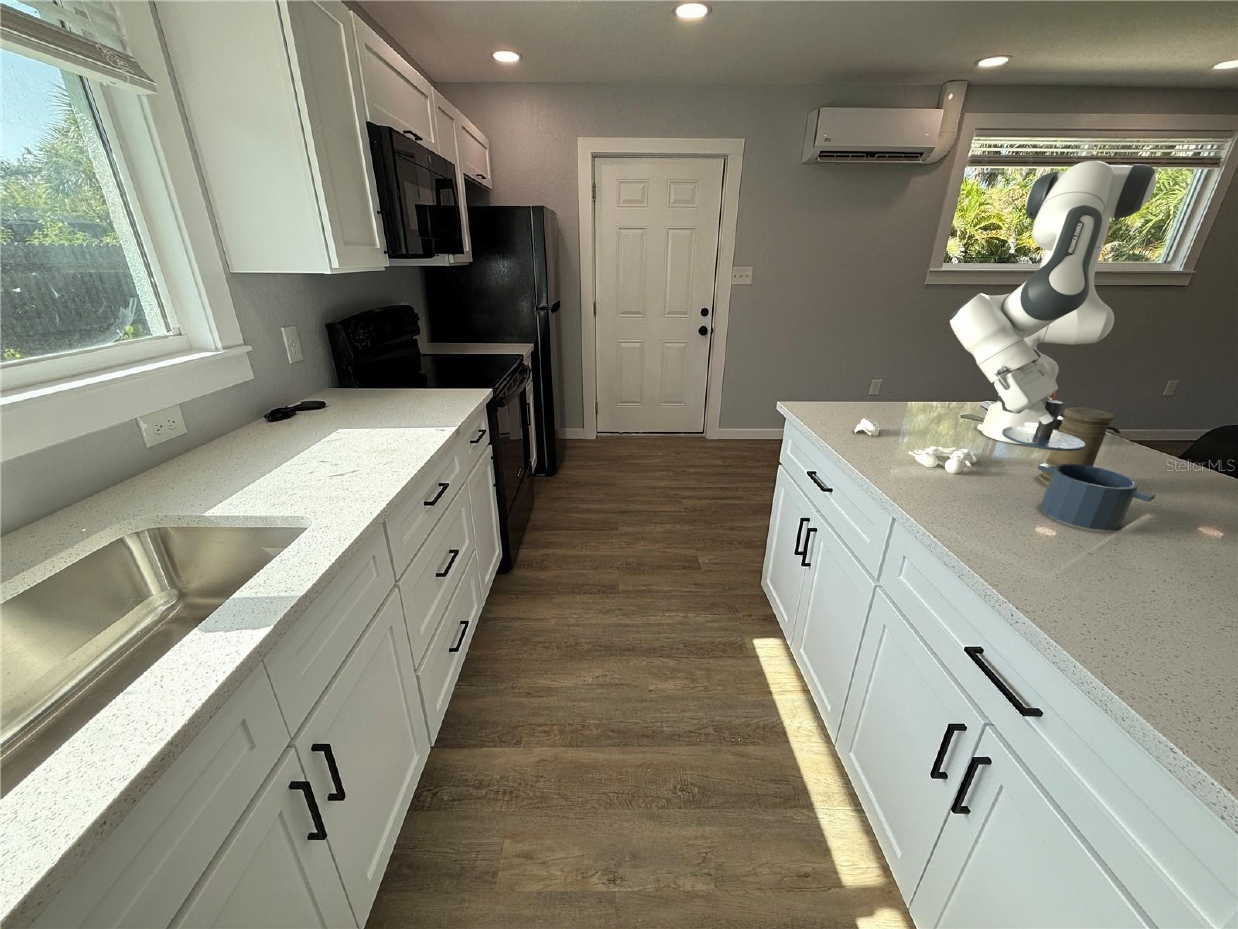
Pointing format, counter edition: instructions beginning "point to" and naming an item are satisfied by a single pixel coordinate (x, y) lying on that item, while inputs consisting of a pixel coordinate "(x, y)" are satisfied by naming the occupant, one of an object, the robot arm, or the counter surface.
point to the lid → (1045, 433)
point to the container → (1080, 437)
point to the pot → (1089, 495)
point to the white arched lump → (868, 426)
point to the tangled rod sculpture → (951, 465)
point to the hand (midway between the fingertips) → (1052, 420)
